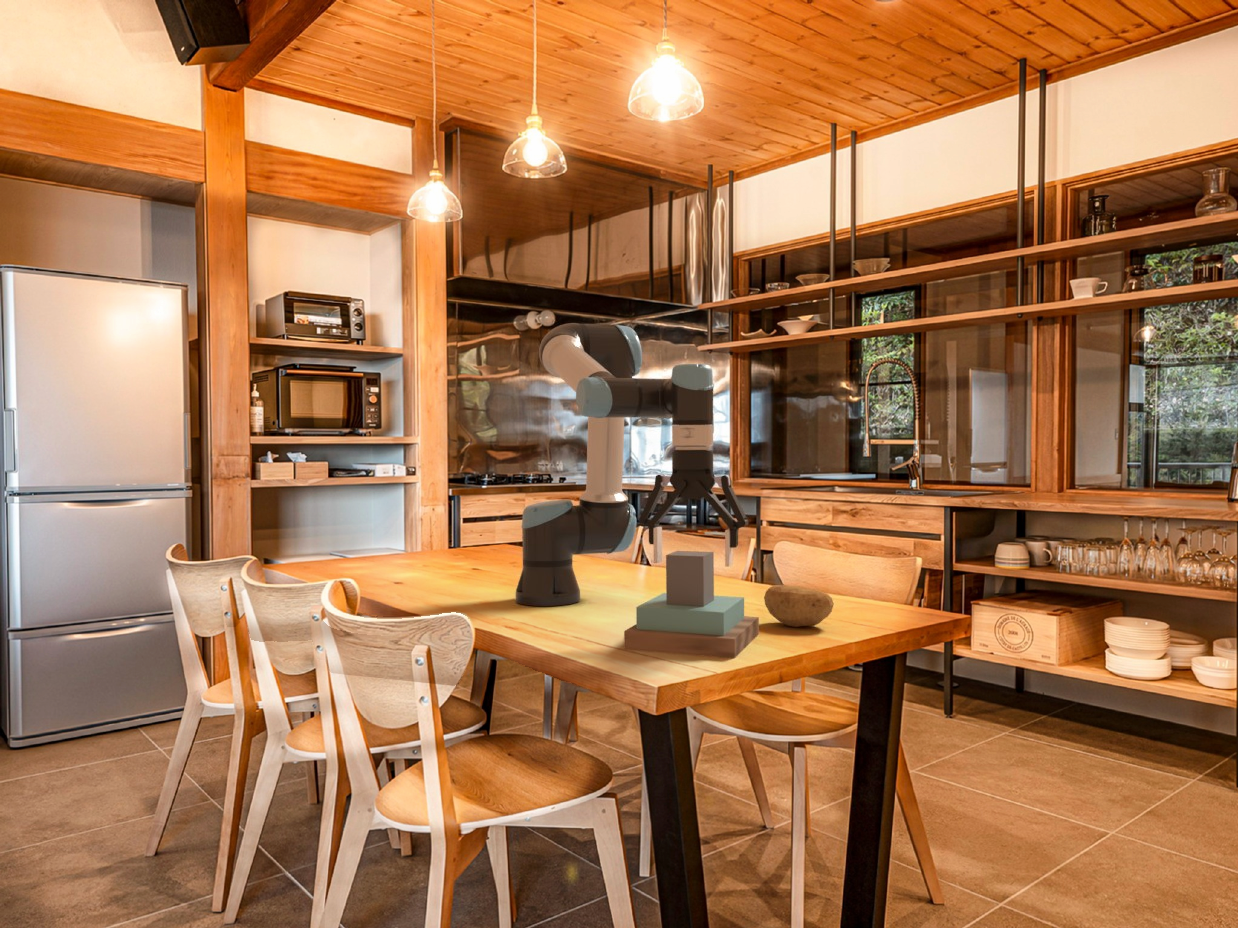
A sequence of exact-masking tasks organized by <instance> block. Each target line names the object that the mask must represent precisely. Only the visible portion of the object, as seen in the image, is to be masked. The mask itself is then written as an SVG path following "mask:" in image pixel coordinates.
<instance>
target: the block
mask: <svg viewBox="0 0 1238 928" xmlns="http://www.w3.org/2000/svg"><path fill="white" fill-rule="evenodd" d="M714 557H715V555H714V551H699V550H698V551H697V550H693V551H692V550H676V551H673V552H671V553H668V554H666V555H665V566H666V567H665V570H666V572H665V574H666V575H665V576H666V577H665V580H666V581H665V582H666V583H665V584H666V586H665V588H666V591H665V593H666V601H667V604H668V605H686V606H703V607H704V606H705V605H707V604H709V603H710V602H712V601H713V600H714V596H715V585H714V584H715V578H714V577H715V576H714V575H715V574H714V572H715V567H714V564H715V563H714V562H715V561H714V560H715V559H714Z"/></svg>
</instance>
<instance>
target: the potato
mask: <svg viewBox="0 0 1238 928" xmlns="http://www.w3.org/2000/svg"><path fill="white" fill-rule="evenodd" d="M763 599H764V605H765V607H766V608H767V610H768V613H769V614H770V615H771V616H772V617H773V618H775V619H776V620H777V621H778V622H780V623H782V624H783V625H786V626H788V627H794V628H798V627H814V626H817V625H819V624H820V623H822V621H824V620H825V619H826V618H828V617H829V616H830V614H831V613H832V612H833V609H834V601H833V598H832V597H831V596H830V594H828V593H827V592H824V591H822V590H819V589H814V588H813V589H812V588H809V587H808V588H807V587H803V586H798V585H786V584H775V585H772V586H770V587H769V588H767V590H766V591H765V593H764V597H763Z"/></svg>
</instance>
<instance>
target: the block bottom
mask: <svg viewBox="0 0 1238 928" xmlns="http://www.w3.org/2000/svg"><path fill="white" fill-rule="evenodd" d="M759 619H760V617H758V616H746V615H744V619H743V620H742V621H740V622H739V623H738V624H737V625H736V626H735V627H733V628H732V629H731V630H730V631H729V632H727V633H726V634H725V635H724V636H723V635H709V634H695V633H681V632H667V631H653V630H639V629H637V623H635V624H634V625H632V626H630V627H629V628H627V629H625V630H624V631H623V633H624V634H623V640H624V642H623V643H624V644H623V645H624V648H623V649H624V650H625V651H626V650H627V651H640V652H653V653H665V654H677V655H690V656H703V657H716V658H726V659H727V658H729V659H730V658H731V659H735V658H737V657H738V656H739V655H740V654H741V653H742V651H744V650H745V648H747V647H748V646H749V645H750V644H751V643H752V642H753V641H754V640H755V639H756V638H757V637H758V636H759V635H760V631H759V630H760V627H759V626H760V622H759V621H760V620H759Z"/></svg>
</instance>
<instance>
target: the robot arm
mask: <svg viewBox="0 0 1238 928" xmlns="http://www.w3.org/2000/svg"><path fill="white" fill-rule="evenodd" d="M538 357H539V361H540V364H541V365H542V366H543V369H545V370H546V371H547V372H548V373H549V374H550V375H552V376H554V377H557V378H560V379H562V380H563V381H564V383H565V384H567V385H568V386H569V387H570V388H571V389H572V390H573V391H574V392H575V402H576V403H575V404H576V407H577V410H578V413H579V415H581V416H583V417H586V418H587V446H586V447H587V450H586V451H587V452H586V478H585V479H586V481H585V482H586V484H585V485H586V486H585V490H584V492H582V494H580V495H579V502H578V503H579V504H578V505H576V504H575V505H574V504H573V501H572V500H570V499H558V500H549V501H541V502H536V503H532V504H530V505H527V506H526V507H525V508H523V511H522V517H521V518H522V521H521V528H522V535H521V536H522V571H521V573H520V576H519V579H518V580H519V581H518V583H517V587H516V589H515V603H517V604H519V605H524V606H534V607H551V606H552V607H553V606H554V607H557V606H566V605H571V604H572V605H573V604H575V603H579V602H580V601H581V589H580V587H579V584H578V580H577V577H576V573H575V571H574V568H573V567H574V566H573V556H574V555H575V556H576V555H590V554H592V555H593V554H607V555H609V554H613V553H620V552H621V553H622V552H625V551H626V550H628V548H630V547H631V545H632V543H633V541H634V538H635V534H636V532H637V517H636V514H637V513H636V509H635V507H634V505H632V504H630V503H629V497H628V496H627V495H626V494H625V493H624V492H623V475H624V474H623V473H624V471H623V470H624V469H623V468H624V467H623V466H624V444H625V442H624V440H625V438H624V437H625V418H646V419H648V418H649V419H650V418H653V419H654V418H656V419H661V420H663V419H667V420H668V419H669V420H670V419H672V421H671V432H672V433H671V435H672V437H671V438H672V439H671V440H672V441H671V443H672V444H671V445H672V447H673V448H675V449H673V451H671V454H672V455H671V460H672V463H671V466H672V467H671V470H672V471H671V476H670V475H669V476H668V475H665V474H656V476H655V478H654V487H653V488H652V491H651V493H650V495H649V497H648V499H647V502H646V503H645V506H644V508H643V510H642V512H641V514H640V517H639V519H638V522H639V523H640V524H641V525H642V524H643V525H645V526H647V528H648V544H649V545H653V563H654V564H659V563H662V562H663V526H659V525H660V523H661V522H662V520H663V519H664V518H665V516H666V515H667V514H668V513H669V512H670V510H672V508H673V507H674V506H675V504H676V503H678V501H679V500H680V499H682V500H689V499H690V500H691V499H693V500H696V501H697V500H699V501H700V500H703V499H704V500H705V501H706V502H707V503H708V504H709V505H710V506H711V507H712V509H713V510H714V511H715V512H716V514H717V515H718V516H719V517H720V518H721V520H722V521H723V523H725V525H726V526H727V528H728V529H726V530H724V535H725V536H724V552H725V553H724V555H725V556H724V560H725V561H724V563H725V564H724V566H725V567H731V566H733V565H734V564H733V563H734V549H735V548H737V547H738V546H739V530H740V528H743V527H746V526H748V525H749V519H748V517H747V515H746V514H745V511H744V510H743V508H742V505H741V504H740V502H739V499H738V497H737V495H736V493H735V491H734V489H733V486H732V478H731V476H730V475H729V474H725V475H724V474H723V475H722V476H715V474H714V451H713V450H712V449H711V447H713V446H714V421H713V420H714V387H715V384H714V379H713V369H712V367H711V366H710V365H709V364H705V363H683V364H682V363H681V364H676V365H674V366H673V367H672V370H671V371H672V372H671V378H647V377H646V378H641V377H639V378H637V377H636V376H637V375H639V373H640V372H641V367H642V365H643V351H642V346H641V341H640V338H639V336H638V334H637V332H636V331H635V330H634V329H633V328H632V327H630V326H627V325H619V324H615V323H614V324H605V323H604V324H603V323H602V324H601V323H598V324H597V323H595V324H594V323H578V322H577V323H576V322H571V323H564V324H560V325H558V326H556V327H554V328H552V329H551V330H550V331H549V332H547V333H546V335H544V336H543V338H542V339H541V343H539V347H538ZM633 377H635V378H633ZM669 483H670V484H671V486H672V488H673V491H672V492H671V493H670V494H669V497H668V498H667V499H666V500H665V502H664V503H663V504H662V505H661V507H659V509H658V510H657V511H656V512H655V514H654V515H653V513H654V511H655V508H656V506H657V505H658V502H659V500H660V499H661V496H662V494H663V492H664V489H665V487H667V486H668V485H669ZM716 484H717V485H718V487H719V488H721V490H722V491H723V494H724V496H725V498H726V501H727V502H728V504H729V506H730V509H731V511H732V512H733V515H734V516H733V515H731V513H730V512H729V511H728V509H727V508H726V507H725V506H724V504H723V503H722V502H721V501H720V500H719V498H718V497H717V495H716V494H715V492H714V491H713V490H712V488H713V487H714V486H715V485H716ZM652 515H653V516H652ZM651 516H652V517H651ZM734 517H735V518H734Z"/></svg>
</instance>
